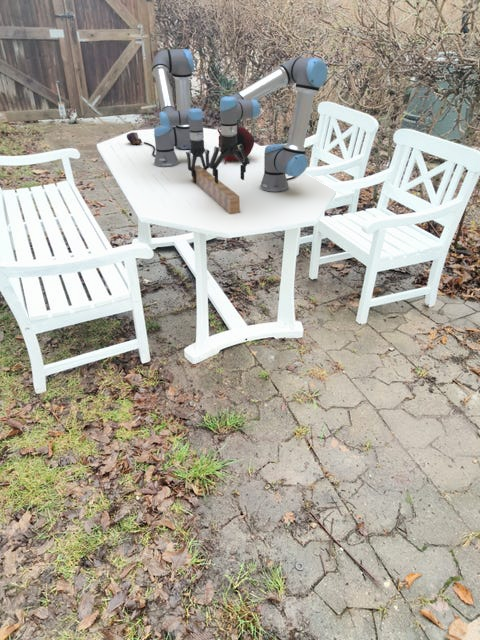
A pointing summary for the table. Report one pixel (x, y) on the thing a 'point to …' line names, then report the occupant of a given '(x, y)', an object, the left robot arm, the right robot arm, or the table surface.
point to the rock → (133, 138)
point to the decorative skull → (243, 139)
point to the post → (217, 190)
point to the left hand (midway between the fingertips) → (199, 181)
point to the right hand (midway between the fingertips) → (229, 181)
